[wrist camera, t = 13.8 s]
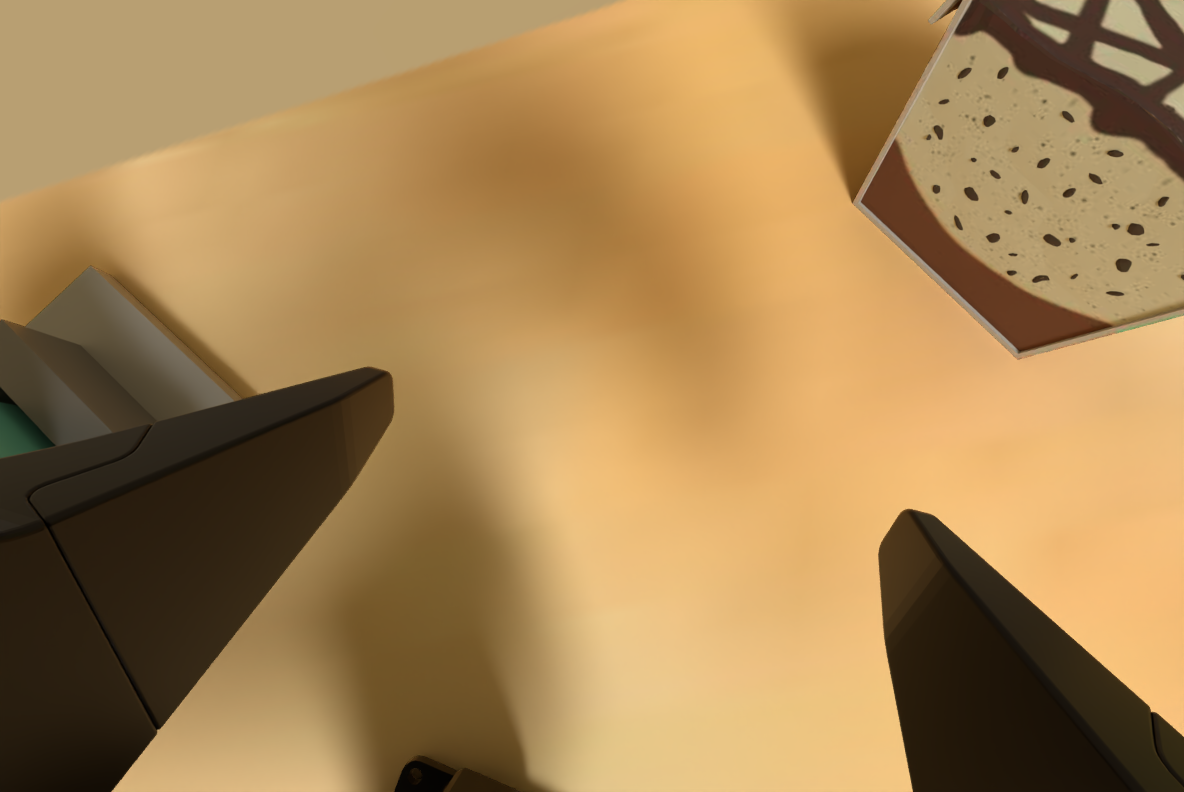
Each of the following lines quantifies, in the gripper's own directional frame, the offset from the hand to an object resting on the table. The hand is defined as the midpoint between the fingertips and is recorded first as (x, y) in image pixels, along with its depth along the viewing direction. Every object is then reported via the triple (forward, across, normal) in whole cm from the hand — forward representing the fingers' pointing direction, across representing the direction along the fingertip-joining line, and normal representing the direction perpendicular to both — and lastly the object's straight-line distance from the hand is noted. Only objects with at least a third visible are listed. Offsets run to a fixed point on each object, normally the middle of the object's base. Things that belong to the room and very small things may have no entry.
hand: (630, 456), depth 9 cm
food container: (+19, -12, -2) cm, 23 cm away
